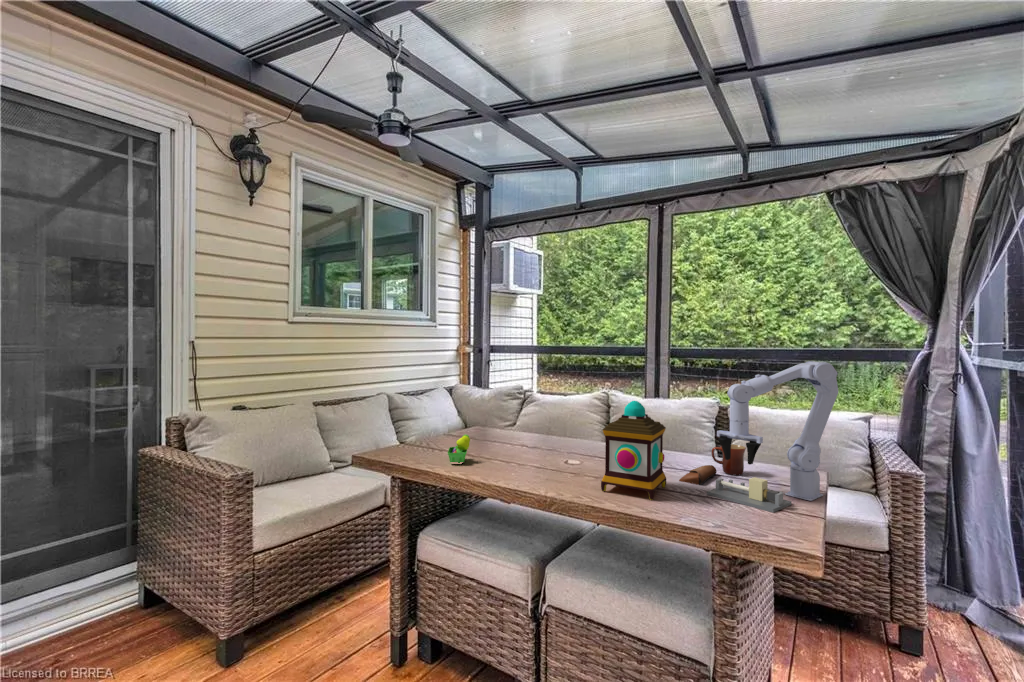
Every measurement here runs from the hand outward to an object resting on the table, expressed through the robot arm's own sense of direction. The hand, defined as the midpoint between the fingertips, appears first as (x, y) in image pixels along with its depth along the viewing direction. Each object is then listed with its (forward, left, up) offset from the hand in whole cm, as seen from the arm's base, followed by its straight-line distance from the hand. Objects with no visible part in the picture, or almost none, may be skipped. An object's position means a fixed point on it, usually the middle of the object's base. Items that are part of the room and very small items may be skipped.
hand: (738, 461), depth 159 cm
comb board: (+4, +5, -10) cm, 12 cm away
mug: (-21, -15, -11) cm, 28 cm away
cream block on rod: (+4, +8, -9) cm, 13 cm away
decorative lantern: (+25, -23, -11) cm, 36 cm away
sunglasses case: (-5, -18, -11) cm, 22 cm away
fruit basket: (+54, -89, -11) cm, 105 cm away
